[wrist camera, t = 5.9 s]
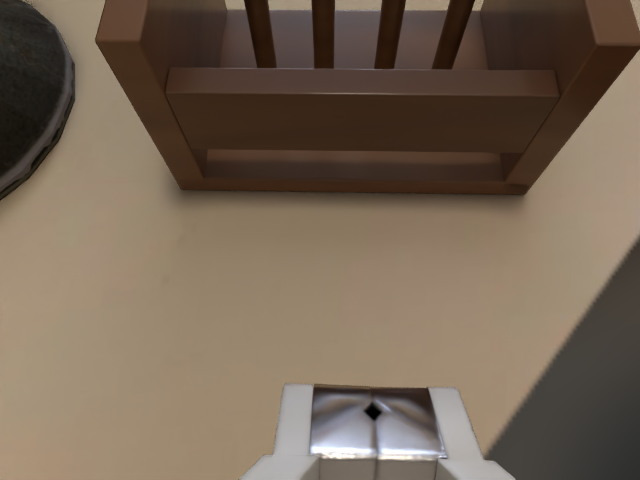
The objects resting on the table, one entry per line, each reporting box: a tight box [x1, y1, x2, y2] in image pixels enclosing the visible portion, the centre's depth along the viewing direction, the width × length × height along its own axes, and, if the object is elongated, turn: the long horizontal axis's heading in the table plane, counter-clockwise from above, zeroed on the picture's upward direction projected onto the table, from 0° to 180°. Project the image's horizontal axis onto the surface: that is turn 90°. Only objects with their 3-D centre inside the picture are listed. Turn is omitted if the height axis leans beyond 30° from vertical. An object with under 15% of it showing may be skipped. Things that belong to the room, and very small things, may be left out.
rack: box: [95, 0, 640, 194], centre depth 18 cm, size 9×14×8 cm, turn 88°
